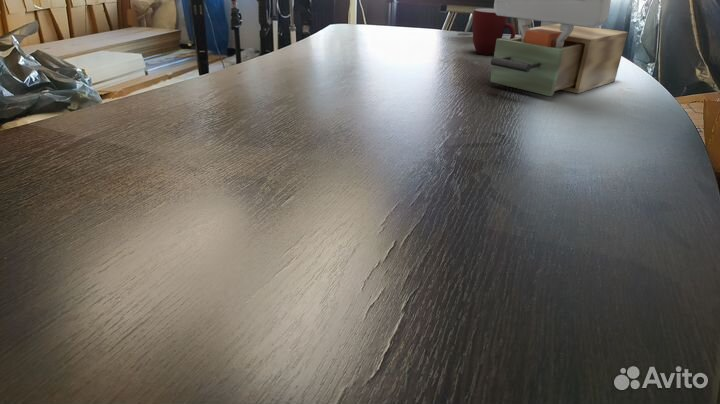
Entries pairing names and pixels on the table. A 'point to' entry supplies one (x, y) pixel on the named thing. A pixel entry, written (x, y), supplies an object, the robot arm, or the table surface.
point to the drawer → (536, 65)
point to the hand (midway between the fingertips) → (540, 47)
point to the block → (541, 37)
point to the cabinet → (595, 55)
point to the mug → (488, 30)
